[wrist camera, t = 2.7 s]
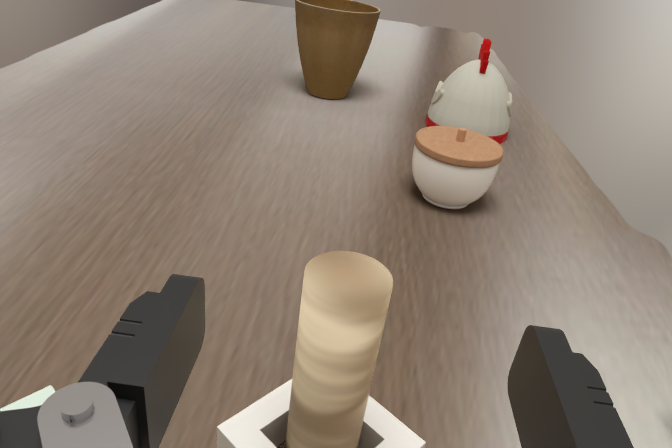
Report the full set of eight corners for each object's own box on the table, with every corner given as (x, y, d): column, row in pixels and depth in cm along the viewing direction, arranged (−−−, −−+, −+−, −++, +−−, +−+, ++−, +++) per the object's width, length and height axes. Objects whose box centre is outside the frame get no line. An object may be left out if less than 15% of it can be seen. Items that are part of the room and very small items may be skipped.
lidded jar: (389, 197, 67) (403, 126, 62) (424, 171, 75) (439, 107, 71) (470, 228, 63) (491, 155, 58) (497, 197, 71) (518, 130, 66)
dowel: (316, 513, 31) (350, 318, 24) (268, 462, 34) (285, 270, 26) (366, 469, 34) (410, 282, 27) (318, 424, 37) (347, 241, 29)
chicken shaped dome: (502, 123, 98) (526, 39, 90) (509, 151, 86) (538, 57, 79) (426, 110, 99) (444, 26, 92) (424, 136, 87) (444, 42, 80)
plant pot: (364, 111, 94) (379, 16, 86) (281, 99, 95) (288, 2, 86) (368, 87, 107) (381, 2, 99) (295, 76, 107) (302, -9, 99)
